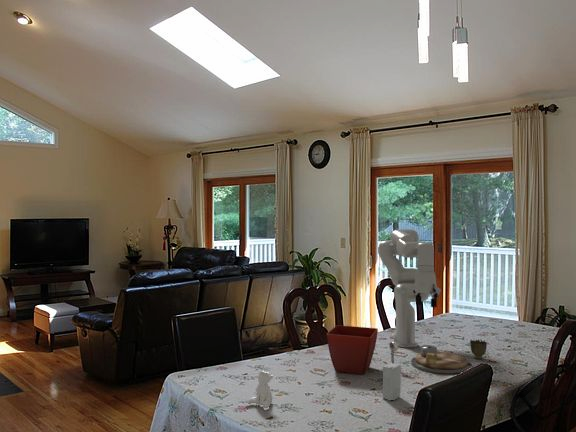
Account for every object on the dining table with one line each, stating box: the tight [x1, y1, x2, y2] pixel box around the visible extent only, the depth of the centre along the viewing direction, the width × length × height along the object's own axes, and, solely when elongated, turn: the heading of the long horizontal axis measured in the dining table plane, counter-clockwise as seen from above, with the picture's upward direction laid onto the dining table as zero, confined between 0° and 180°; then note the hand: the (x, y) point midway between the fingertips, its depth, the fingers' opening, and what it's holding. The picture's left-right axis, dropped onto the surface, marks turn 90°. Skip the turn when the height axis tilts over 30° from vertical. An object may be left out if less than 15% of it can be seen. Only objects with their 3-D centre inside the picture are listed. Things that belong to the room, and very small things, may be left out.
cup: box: [469, 339, 488, 360], centre depth 243 cm, size 8×7×8 cm
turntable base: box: [410, 356, 473, 375], centre depth 232 cm, size 26×26×1 cm
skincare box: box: [382, 362, 402, 401], centre depth 191 cm, size 6×4×12 cm
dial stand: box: [388, 341, 400, 364], centre depth 228 cm, size 6×5×12 cm
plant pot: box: [326, 324, 379, 375], centre depth 226 cm, size 19×19×17 cm
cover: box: [420, 344, 438, 358], centre depth 236 cm, size 7×7×4 cm
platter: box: [415, 351, 468, 369], centre depth 232 cm, size 22×22×6 cm
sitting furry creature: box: [245, 370, 274, 409], centre depth 185 cm, size 10×9×12 cm
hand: (426, 305), depth 244 cm, fingers open, 9 cm apart
